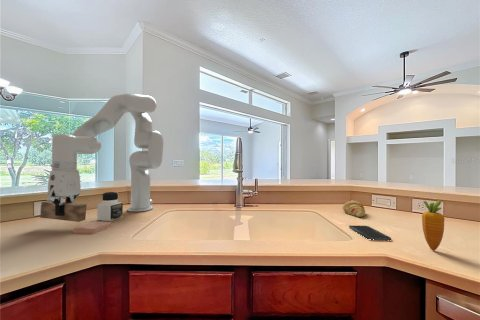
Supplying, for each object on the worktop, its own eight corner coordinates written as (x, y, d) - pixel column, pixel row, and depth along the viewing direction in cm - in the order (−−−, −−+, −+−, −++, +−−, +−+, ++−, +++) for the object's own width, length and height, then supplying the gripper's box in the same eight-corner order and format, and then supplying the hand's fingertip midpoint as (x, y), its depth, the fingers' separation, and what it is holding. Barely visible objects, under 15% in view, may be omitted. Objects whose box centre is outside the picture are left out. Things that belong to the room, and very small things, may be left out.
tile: (73, 227, 78) (93, 228, 77) (92, 221, 87) (111, 222, 86) (73, 235, 78) (93, 236, 77) (92, 227, 87) (111, 228, 86)
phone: (369, 238, 72) (348, 225, 87) (369, 241, 72) (348, 228, 87) (393, 238, 72) (367, 225, 87) (393, 242, 72) (367, 228, 87)
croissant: (367, 226, 101) (376, 211, 100) (347, 215, 103) (355, 200, 102) (352, 214, 122) (359, 202, 121) (335, 205, 124) (342, 193, 123)
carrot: (417, 247, 66) (417, 198, 67) (432, 247, 67) (432, 198, 67) (433, 254, 61) (433, 201, 62) (449, 254, 62) (449, 201, 62)
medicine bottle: (110, 221, 93) (111, 193, 94) (96, 220, 95) (97, 193, 95) (122, 217, 100) (123, 191, 101) (109, 216, 102) (110, 190, 102)
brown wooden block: (85, 219, 84) (86, 204, 84) (78, 221, 81) (80, 205, 81) (47, 215, 86) (49, 200, 86) (40, 217, 83) (41, 201, 83)
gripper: (53, 167, 75) (52, 220, 75) (90, 166, 92) (89, 210, 91) (33, 167, 76) (33, 219, 76) (73, 166, 92) (73, 209, 92)
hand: (64, 213), depth 84 cm, fingers closed on brown wooden block, 2 cm apart
